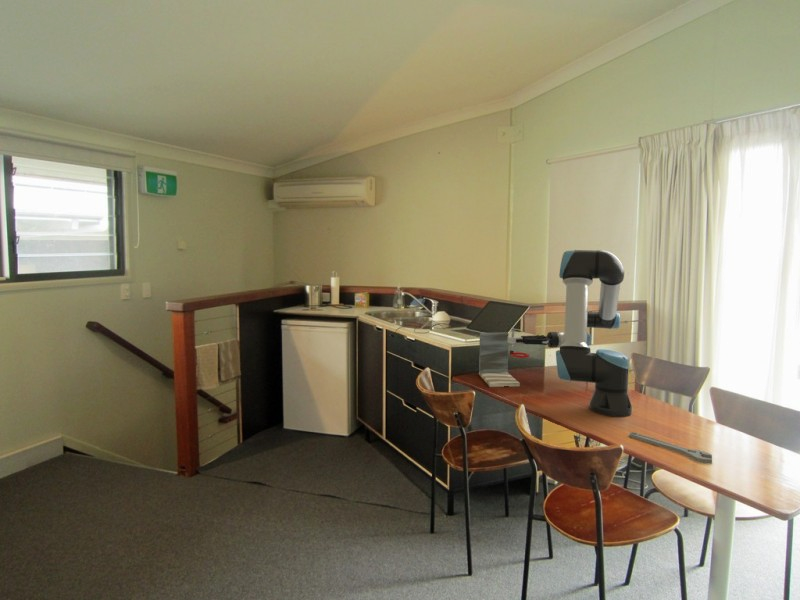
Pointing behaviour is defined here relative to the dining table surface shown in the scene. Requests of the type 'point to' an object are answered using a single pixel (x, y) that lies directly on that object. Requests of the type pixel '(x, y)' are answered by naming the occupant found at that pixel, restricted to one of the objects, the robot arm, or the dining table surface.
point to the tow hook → (513, 354)
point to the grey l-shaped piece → (495, 360)
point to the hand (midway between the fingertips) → (508, 340)
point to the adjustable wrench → (676, 448)
